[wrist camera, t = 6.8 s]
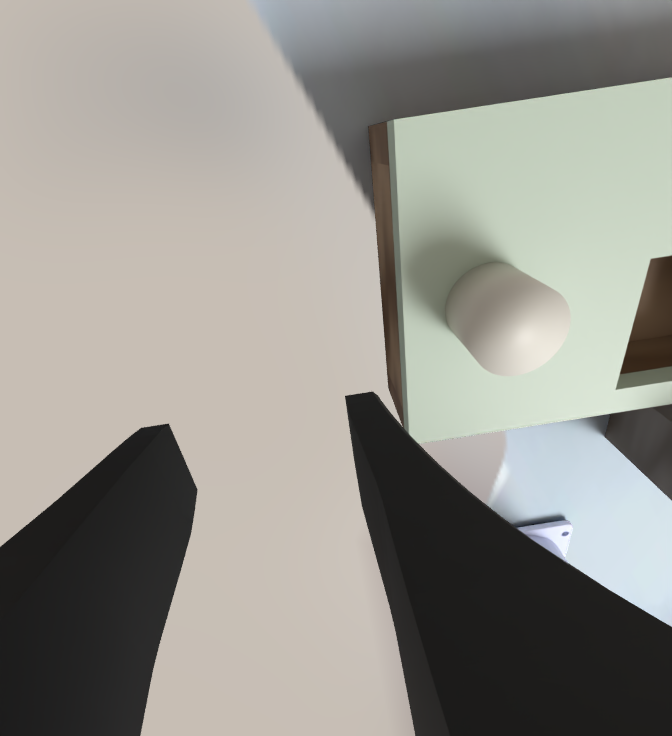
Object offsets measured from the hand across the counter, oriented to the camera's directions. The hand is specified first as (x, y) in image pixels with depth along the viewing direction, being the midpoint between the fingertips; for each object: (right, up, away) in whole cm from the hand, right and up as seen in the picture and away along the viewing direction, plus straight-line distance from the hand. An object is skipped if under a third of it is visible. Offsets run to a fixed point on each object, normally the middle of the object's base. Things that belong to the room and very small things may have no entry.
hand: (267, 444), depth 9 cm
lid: (+12, +5, +6) cm, 14 cm away
